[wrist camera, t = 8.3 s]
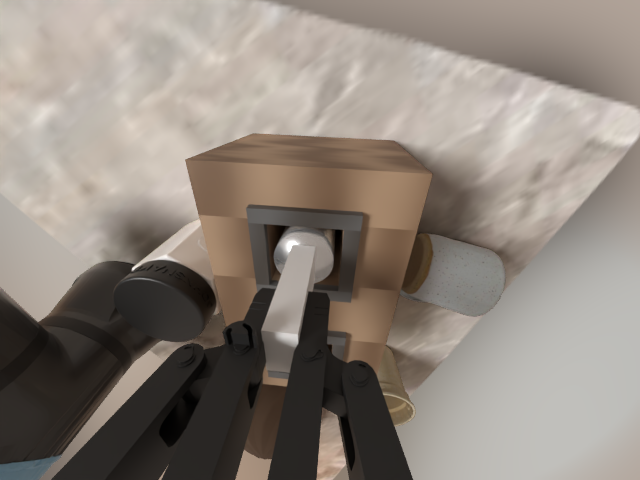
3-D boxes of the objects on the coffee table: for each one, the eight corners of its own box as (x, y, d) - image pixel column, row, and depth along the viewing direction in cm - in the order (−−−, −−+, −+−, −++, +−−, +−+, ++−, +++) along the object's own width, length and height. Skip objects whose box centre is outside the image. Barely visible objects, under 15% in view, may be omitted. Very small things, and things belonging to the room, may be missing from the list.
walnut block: (269, 300, 36) (237, 386, 25) (253, 133, 24) (178, 162, 13) (363, 308, 35) (372, 402, 24) (393, 140, 23) (436, 177, 13)
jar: (263, 240, 31) (223, 312, 20) (236, 278, 34) (190, 355, 24) (199, 199, 28) (116, 257, 18) (177, 244, 32) (98, 313, 22)
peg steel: (300, 216, 26) (275, 281, 17) (299, 180, 24) (271, 232, 15) (336, 218, 26) (331, 286, 17) (339, 183, 24) (335, 237, 15)
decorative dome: (340, 398, 49) (339, 462, 40) (287, 427, 58) (277, 485, 49) (259, 356, 44) (238, 419, 35) (215, 395, 53) (190, 453, 44)
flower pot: (378, 377, 43) (385, 434, 36) (334, 357, 42) (332, 413, 34) (414, 351, 39) (431, 410, 32) (367, 328, 37) (373, 385, 30)
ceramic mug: (415, 218, 27) (436, 258, 21) (482, 236, 28) (524, 280, 21) (380, 284, 33) (389, 332, 26) (436, 299, 33) (458, 349, 27)
